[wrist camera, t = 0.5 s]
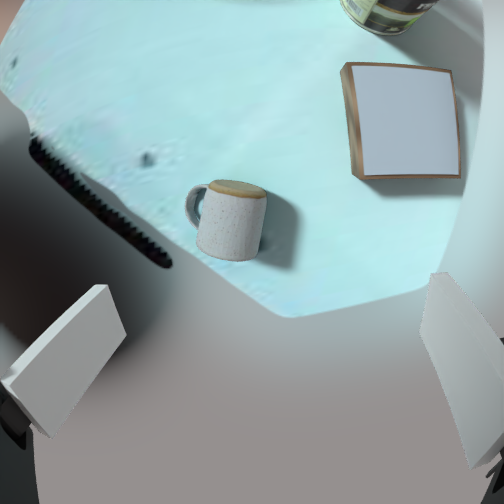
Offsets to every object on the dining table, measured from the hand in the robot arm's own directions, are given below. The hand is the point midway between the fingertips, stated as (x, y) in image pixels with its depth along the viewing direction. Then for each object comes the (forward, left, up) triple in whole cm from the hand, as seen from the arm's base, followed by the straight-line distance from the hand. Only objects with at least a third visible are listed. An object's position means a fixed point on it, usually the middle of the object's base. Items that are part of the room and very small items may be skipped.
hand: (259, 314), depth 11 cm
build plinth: (-8, +15, -27) cm, 32 cm away
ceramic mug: (+2, -8, -28) cm, 29 cm away
